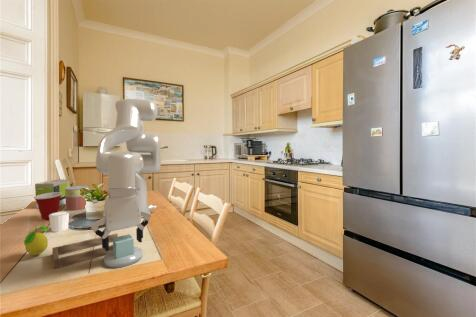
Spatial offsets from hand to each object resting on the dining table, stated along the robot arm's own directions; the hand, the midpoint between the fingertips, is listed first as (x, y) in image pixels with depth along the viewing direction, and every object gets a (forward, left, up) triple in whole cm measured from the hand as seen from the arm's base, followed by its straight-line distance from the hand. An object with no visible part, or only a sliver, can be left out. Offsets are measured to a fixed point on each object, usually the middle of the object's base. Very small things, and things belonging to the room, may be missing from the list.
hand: (123, 245), depth 73 cm
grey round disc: (0, 0, -4) cm, 4 cm away
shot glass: (+14, -45, -5) cm, 47 cm away
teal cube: (0, 0, -3) cm, 3 cm away
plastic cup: (+17, -67, -5) cm, 69 cm away
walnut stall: (+8, -12, -4) cm, 15 cm away
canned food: (+4, -80, -5) cm, 80 cm away
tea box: (+14, -96, -5) cm, 97 cm away
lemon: (+21, -21, -5) cm, 30 cm away
